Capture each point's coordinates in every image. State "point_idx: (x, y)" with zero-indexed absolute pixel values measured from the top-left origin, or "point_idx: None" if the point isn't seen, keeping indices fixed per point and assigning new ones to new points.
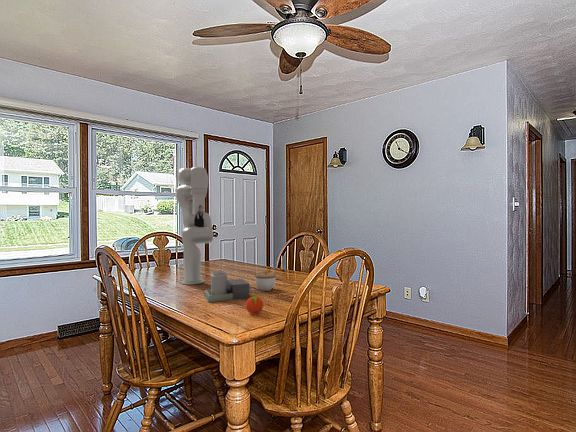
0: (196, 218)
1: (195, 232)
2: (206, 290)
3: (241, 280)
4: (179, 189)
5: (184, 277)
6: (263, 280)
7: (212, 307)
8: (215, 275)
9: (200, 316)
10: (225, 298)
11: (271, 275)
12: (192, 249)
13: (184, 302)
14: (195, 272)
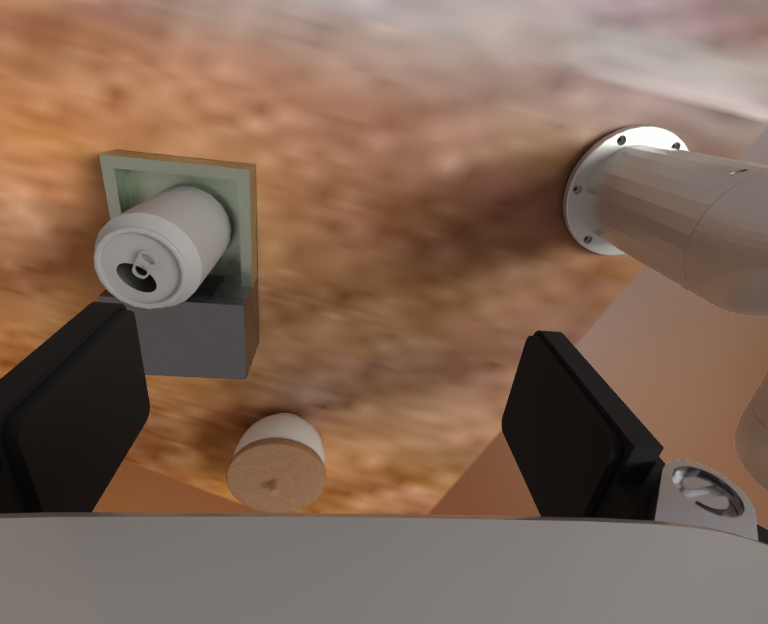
0: (613, 491)
1: None
2: (240, 179)
3: (206, 363)
4: None
5: (650, 147)
6: (236, 448)
7: (8, 139)
8: (104, 233)
9: None
10: None
11: (238, 492)
12: (739, 248)
13: (157, 22)
14: (611, 216)
